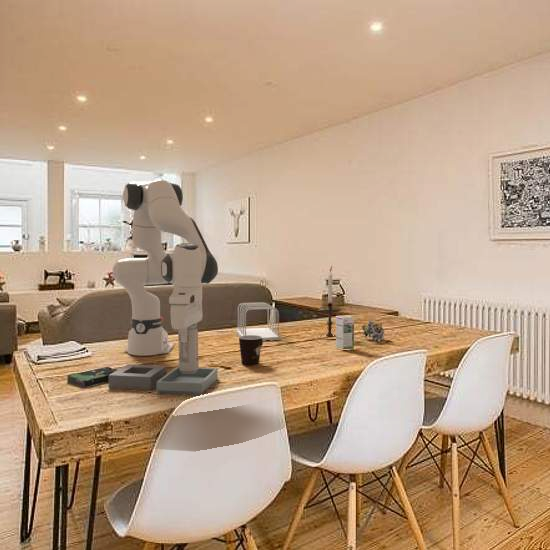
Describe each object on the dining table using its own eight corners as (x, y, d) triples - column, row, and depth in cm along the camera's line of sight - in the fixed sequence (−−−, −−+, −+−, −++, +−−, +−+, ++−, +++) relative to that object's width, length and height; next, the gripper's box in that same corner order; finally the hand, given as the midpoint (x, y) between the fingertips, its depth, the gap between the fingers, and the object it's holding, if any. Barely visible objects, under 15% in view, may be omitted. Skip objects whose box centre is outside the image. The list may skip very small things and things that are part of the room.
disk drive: (107, 374, 167) (66, 383, 156) (107, 366, 167) (66, 374, 156) (125, 379, 161) (84, 389, 149) (125, 371, 161) (84, 380, 149)
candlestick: (342, 336, 235) (343, 265, 233) (339, 340, 225) (340, 266, 222) (319, 335, 238) (320, 264, 235) (316, 339, 227) (317, 265, 225)
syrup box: (342, 351, 202) (343, 317, 202) (335, 348, 208) (335, 315, 207) (354, 350, 205) (354, 316, 204) (346, 347, 210) (346, 314, 209)
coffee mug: (245, 367, 175) (245, 340, 174) (234, 362, 182) (234, 336, 181) (273, 363, 181) (273, 337, 180) (261, 359, 188) (261, 333, 187)
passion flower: (378, 353, 222) (374, 335, 215) (358, 346, 229) (354, 328, 222) (390, 337, 228) (387, 319, 221) (371, 330, 235) (367, 312, 228)
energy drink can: (201, 372, 151) (201, 324, 150) (184, 375, 147) (183, 326, 146) (193, 368, 156) (192, 322, 155) (176, 371, 152) (175, 324, 151)
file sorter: (236, 332, 245) (236, 302, 244) (269, 331, 249) (269, 301, 248) (243, 342, 221) (243, 308, 220) (280, 341, 225) (280, 307, 224)
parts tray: (177, 377, 162) (176, 366, 161) (217, 378, 160) (217, 368, 160) (156, 393, 144) (156, 381, 144) (201, 395, 142) (201, 383, 142)
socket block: (128, 376, 163) (127, 364, 163) (166, 377, 161) (166, 365, 161) (108, 387, 149) (108, 375, 149) (150, 389, 147) (150, 376, 147)
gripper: (188, 292, 161) (189, 333, 162) (166, 298, 141) (167, 345, 141) (207, 292, 160) (207, 333, 161) (187, 299, 140) (187, 346, 141)
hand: (188, 339), depth 151 cm, fingers closed on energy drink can, 6 cm apart
